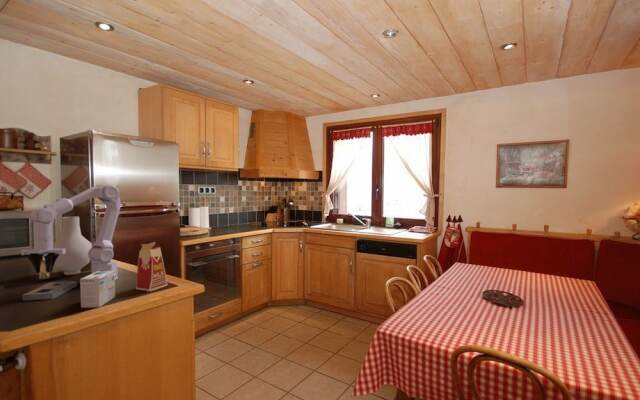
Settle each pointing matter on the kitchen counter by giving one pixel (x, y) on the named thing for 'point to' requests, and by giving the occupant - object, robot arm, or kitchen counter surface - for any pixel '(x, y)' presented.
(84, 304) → the light bulb box
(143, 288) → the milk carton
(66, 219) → the vase
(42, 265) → the brass nipple
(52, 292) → the manifold plate
